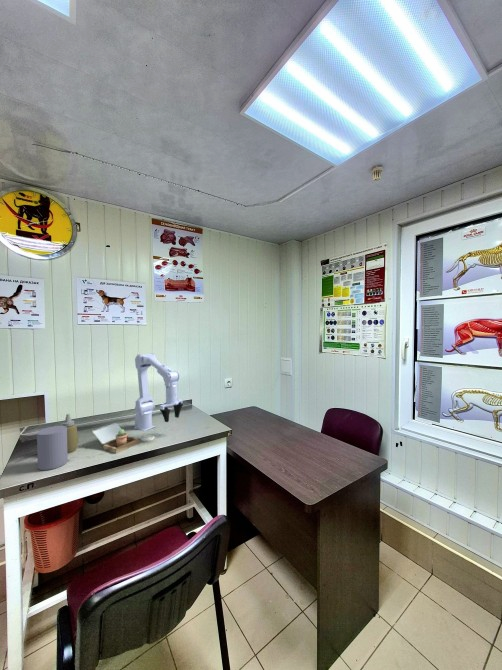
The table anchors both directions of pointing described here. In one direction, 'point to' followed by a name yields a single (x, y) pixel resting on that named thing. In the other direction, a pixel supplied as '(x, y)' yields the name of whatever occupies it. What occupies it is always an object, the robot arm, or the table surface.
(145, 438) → the saucer
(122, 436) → the clay pot
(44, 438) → the container
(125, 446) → the cold frame
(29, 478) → the table surface
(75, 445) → the squeeze bottle
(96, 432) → the lid
